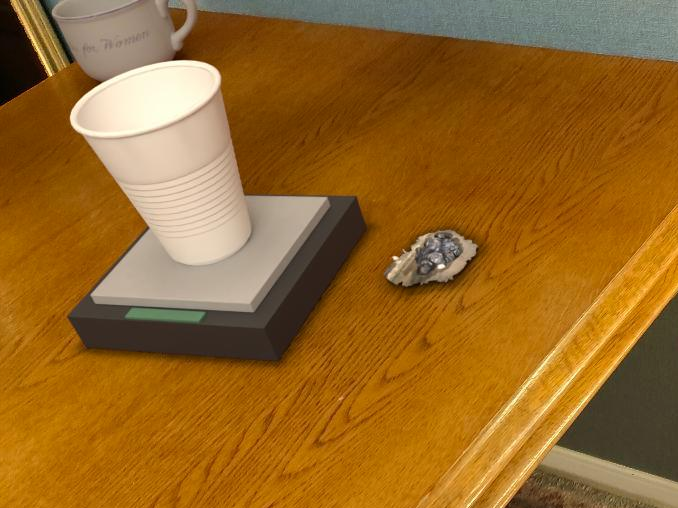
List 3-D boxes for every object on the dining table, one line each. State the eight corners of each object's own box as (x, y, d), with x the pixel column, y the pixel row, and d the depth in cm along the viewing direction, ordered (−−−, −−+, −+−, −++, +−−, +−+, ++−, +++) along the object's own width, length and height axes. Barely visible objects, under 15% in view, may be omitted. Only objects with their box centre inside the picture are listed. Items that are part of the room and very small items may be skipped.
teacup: (70, 101, 103) (28, 20, 97) (121, 52, 109) (85, -26, 103) (188, 96, 99) (152, 12, 93) (233, 46, 106) (203, -35, 100)
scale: (85, 347, 73) (60, 307, 70) (191, 223, 82) (173, 183, 80) (278, 361, 68) (259, 318, 65) (366, 228, 78) (353, 185, 75)
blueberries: (380, 299, 71) (373, 276, 70) (394, 236, 76) (387, 214, 75) (474, 288, 70) (468, 265, 69) (481, 225, 75) (476, 203, 74)
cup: (146, 300, 69) (66, 150, 61) (143, 229, 75) (71, 85, 67) (286, 259, 70) (225, 105, 61) (271, 193, 76) (215, 45, 68)
